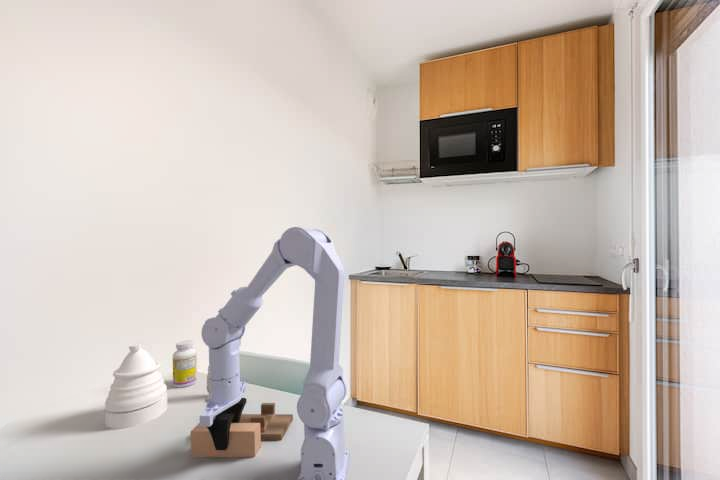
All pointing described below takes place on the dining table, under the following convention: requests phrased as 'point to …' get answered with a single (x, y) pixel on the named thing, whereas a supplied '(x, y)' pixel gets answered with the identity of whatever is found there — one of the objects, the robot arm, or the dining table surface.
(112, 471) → the dining table surface
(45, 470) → the dining table surface
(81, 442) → the dining table surface
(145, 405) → the honey pot
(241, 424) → the clay bar
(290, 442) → the dining table surface
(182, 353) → the supplement bottle
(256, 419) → the wooden block stand
